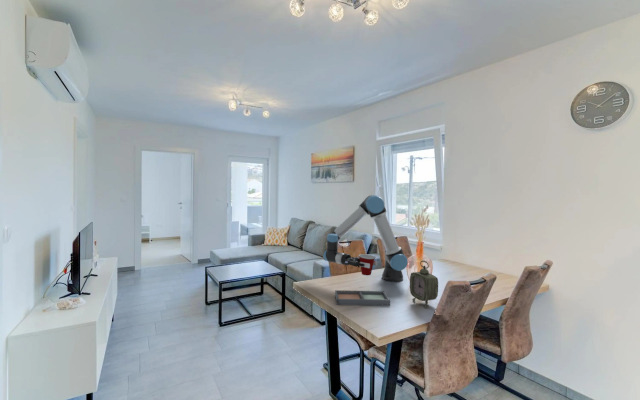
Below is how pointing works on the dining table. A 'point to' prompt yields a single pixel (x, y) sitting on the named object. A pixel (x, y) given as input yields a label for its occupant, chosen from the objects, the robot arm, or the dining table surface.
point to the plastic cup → (367, 259)
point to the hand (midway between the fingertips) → (373, 264)
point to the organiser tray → (361, 298)
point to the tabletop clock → (423, 285)
